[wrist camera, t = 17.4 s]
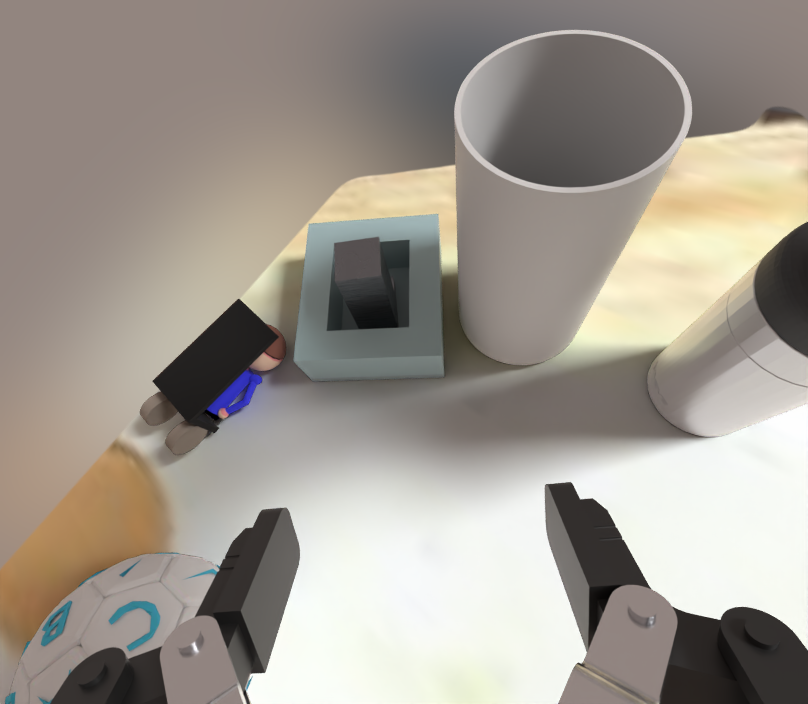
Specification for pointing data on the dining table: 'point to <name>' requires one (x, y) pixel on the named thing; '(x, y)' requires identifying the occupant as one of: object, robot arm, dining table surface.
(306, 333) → the well block
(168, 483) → the dining table surface
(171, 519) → the dining table surface
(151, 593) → the puzzle ball
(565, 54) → the cylinder vase
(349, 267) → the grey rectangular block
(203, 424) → the figurine character
